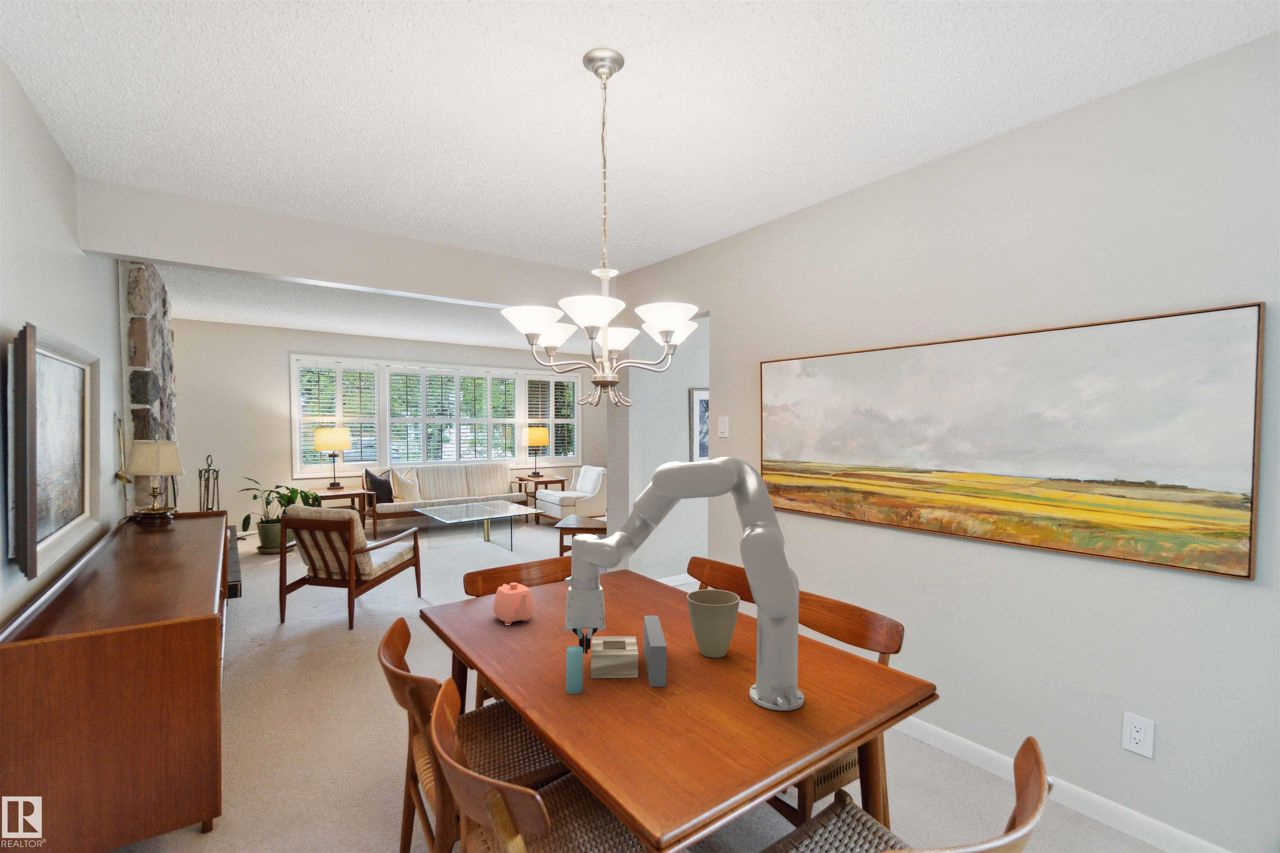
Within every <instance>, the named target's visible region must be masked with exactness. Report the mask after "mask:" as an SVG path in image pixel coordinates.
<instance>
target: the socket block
mask: <svg viewBox="0 0 1280 853" xmlns="http://www.w3.org/2000/svg"><path fill="white" fill-rule="evenodd" d="M638 649H639V648H638V644H637V636H636V635H630V636H629V635H627V636H626V635H625V636H624V635H623V636H622V635H620V636H618V635H617V636H615V635H614V636H613V635H611V636H592V637H591V645H590V679H621V678H622V679H626V678H627V679H628V678H639V651H638Z"/></svg>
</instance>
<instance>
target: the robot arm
mask: <svg viewBox="0 0 1280 853" xmlns="http://www.w3.org/2000/svg"><path fill="white" fill-rule="evenodd" d="M651 477H652V478H651V482H650V483H649V484H648V485H647V486H646V488H644V490H643V491H642V492H641V493H640V494H639V496H638V497H637V498H636V499H635V500H634V502H633V504H632V506H633V507H632V511H631V513H630V514H629V516H628V518H627V519H626V520H625V521H624V523H623V524H622V525H621V526H619V528H618V529H617V530H616V531H615V532H614V533H613V534H612V535H610V536H608V537H606V538H602V539H600V538H599V536H598V535H594V534H589V533H587V534H586V533H584V534H583V533H581V534H578V535H575V536H573V538H572V540H571V557H570V558H571V562H570V563H571V568H570V569H571V573H570V575H571V576H569V577H566V578H565V584H569V585H570V586H569V587H568V589H567V592H566V600H565V616H564V617H565V621H564V622H565V625H564V630H565V631H569V632H572V633H574V635H575V636H577V638H578V646H580V647H582V648H583V654H586V655H587V654H588V651H589V650H591V642H592V637H594V635H595V634H596V633H597V632H600V631H603V630H605V629H606V623H605V617H606V616H605V594H604V589H603V587H602V586H601V582H600V581H601V579H600V578H601V577H600V576H601V568H603V569H608V570H609V569H610V570H611V569H614V568H617V567H618V566H620V565H622V564H623V563H624V562H625V561H627V560H628V559H629V558H632V556H633V555H634V554H635V553H636V551H638V549H639V548H640V547H641V546H642V545H643V544H644V542H645V541H646V540H647V539H648V538H649V537H650V536H651V534H652V533H653V532H654V531H655V530H656V529H657V528H658V527H659V525H660V524H661V523H662V521H664V519H665V518H666V517H667V516H668V515H669V513H671V511H672V510H673V509H674V508H675V507H676V505H677V504H679V502H680V501H681V500H682V499H683V500H684V499H685V500H686V499H700V498H715V497H720V496H725V495H727V494H729V493H730V494H731V495H732V498H733V500H734V504H735V509H736V513H737V515H738V518H739V521H740V525H741V529H742V533H743V535H742V537H741V539H740V543H739V550H740V551H739V552H740V557H741V561H742V564H743V565H742V566H743V568H744V571H745V575H746V578H747V581H748V585H749V589H750V591H751V592H750V593H751V595H752V598H753V601H754V604H755V605H756V607H757V610H756V612H757V613H756V656H755V658H756V660H755V661H756V662H755V663H756V665H755V666H756V669H755V670H756V671H755V674H756V676H755V684H753V685H751V686H750V688H749V691H748V693H749V697H750V699H751V701H752V702H753V703H755V704H756V705H758V706H760V707H763V708H765V709H768V710H773V711H781V712H784V711H785V712H787V711H794V710H797V709H800V708H801V707H802V706H803V705H804V703H805V695H804V693H803V692H802V691H801V690H800V689H798V667H799V666H798V660H799V659H798V657H799V656H798V655H799V654H798V653H799V652H798V650H799V648H798V647H799V646H798V645H799V607H800V606H799V605H800V603H799V602H800V582H799V579H798V576H797V574H796V572H795V571H794V570H793V569H792V568H791V567H790V566H789V564H788V560H787V556H786V554H785V538H784V534H783V532H782V530H781V526H780V524H779V521H778V517H777V514H776V511H775V508H774V506H773V503H772V499H771V496H770V493H769V490H768V487H767V485H766V482H765V480H764V479H763V477H762V475H761V474H760V473H759V471H758V470H757V469H756V468H755V467H754V466H752V464H750V463H748V462H746V461H744V460H742V459H739V458H735V457H729V456H719V457H715V458H714V459H708V460H701V461H691V462H690V461H689V462H683V461H682V462H681V461H677V460H676V461H669V462H666V463H664V464H661V465H660V466H659V467H657V468H656V469H655V471H654V472H653V475H652V476H651ZM583 629H587V632H586V633H584V632H583V631H584V630H583Z"/></svg>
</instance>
